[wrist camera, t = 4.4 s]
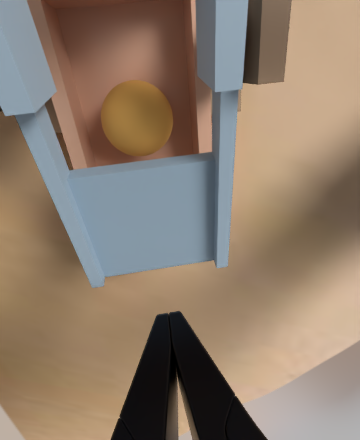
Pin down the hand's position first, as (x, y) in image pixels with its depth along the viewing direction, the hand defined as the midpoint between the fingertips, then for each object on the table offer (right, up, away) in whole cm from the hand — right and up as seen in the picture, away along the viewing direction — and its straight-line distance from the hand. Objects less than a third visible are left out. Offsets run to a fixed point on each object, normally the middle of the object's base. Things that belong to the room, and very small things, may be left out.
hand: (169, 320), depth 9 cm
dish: (-2, +10, +5) cm, 12 cm away
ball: (-2, +9, +4) cm, 9 cm away
